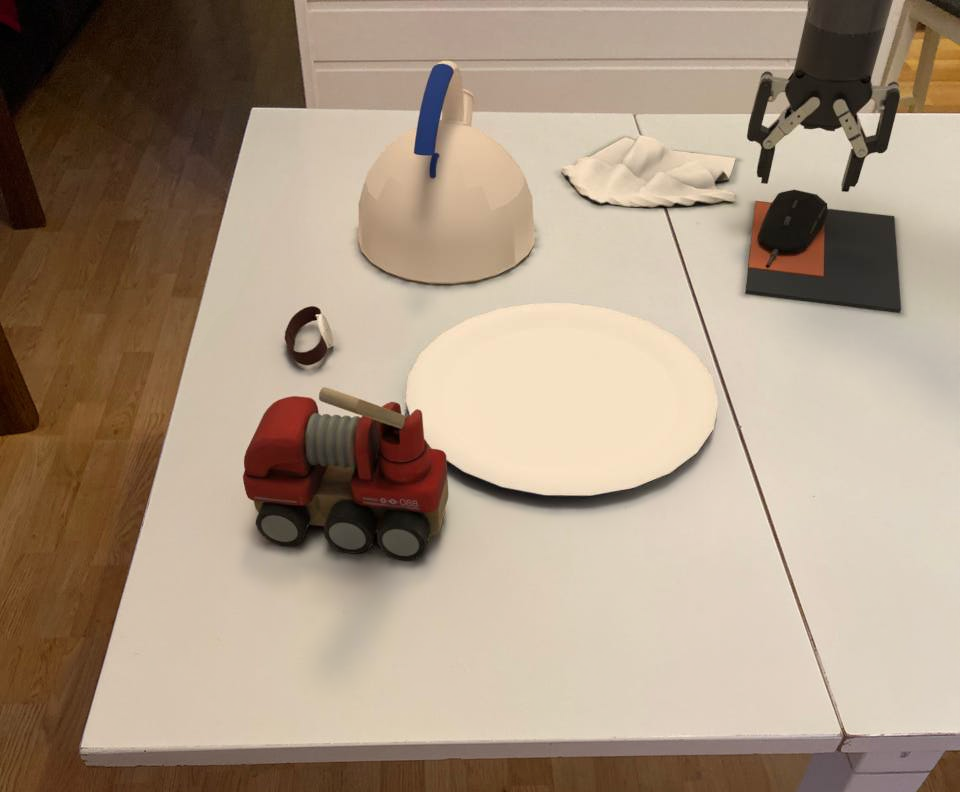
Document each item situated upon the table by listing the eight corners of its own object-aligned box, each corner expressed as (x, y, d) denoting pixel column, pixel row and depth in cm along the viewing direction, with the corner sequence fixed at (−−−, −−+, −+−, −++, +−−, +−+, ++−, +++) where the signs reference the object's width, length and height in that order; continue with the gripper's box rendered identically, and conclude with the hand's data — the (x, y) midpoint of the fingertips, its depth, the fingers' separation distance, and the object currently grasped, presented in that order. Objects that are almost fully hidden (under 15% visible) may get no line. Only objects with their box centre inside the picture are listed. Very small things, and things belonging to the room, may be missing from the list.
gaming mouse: (739, 260, 106) (747, 225, 103) (778, 202, 114) (786, 168, 111) (795, 275, 104) (805, 239, 101) (830, 214, 112) (840, 180, 109)
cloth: (538, 175, 120) (539, 155, 118) (658, 124, 129) (661, 105, 127) (659, 239, 110) (662, 218, 108) (780, 179, 119) (785, 159, 117)
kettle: (546, 201, 115) (556, 32, 101) (520, 295, 103) (527, 117, 89) (382, 186, 118) (369, 20, 104) (337, 276, 105) (315, 100, 91)
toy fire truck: (280, 475, 85) (241, 293, 71) (454, 495, 83) (449, 313, 69) (238, 568, 78) (186, 386, 64) (427, 592, 76) (415, 410, 62)
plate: (366, 351, 96) (364, 336, 95) (626, 291, 103) (628, 277, 102) (473, 545, 79) (473, 531, 78) (776, 458, 86) (781, 443, 85)
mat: (893, 219, 113) (894, 214, 112) (900, 312, 101) (901, 308, 100) (755, 203, 115) (756, 199, 115) (745, 293, 103) (746, 288, 102)
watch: (335, 368, 94) (330, 336, 92) (286, 372, 94) (280, 340, 91) (333, 324, 99) (328, 292, 96) (287, 327, 99) (281, 295, 96)
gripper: (769, 24, 91) (735, 194, 103) (926, 35, 89) (872, 208, 101) (772, -3, 95) (740, 162, 108) (922, 7, 93) (871, 175, 106)
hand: (804, 184), depth 105 cm, fingers open, 8 cm apart
